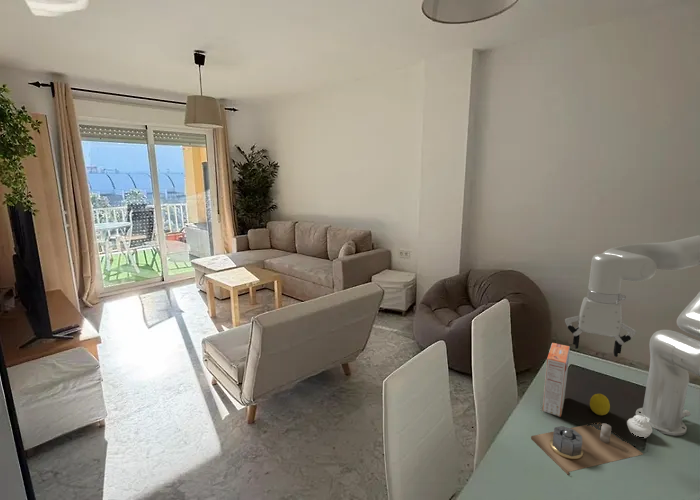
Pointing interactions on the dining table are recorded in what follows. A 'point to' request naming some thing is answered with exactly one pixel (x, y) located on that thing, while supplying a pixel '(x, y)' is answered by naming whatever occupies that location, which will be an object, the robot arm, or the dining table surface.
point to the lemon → (599, 404)
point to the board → (590, 448)
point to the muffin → (639, 426)
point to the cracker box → (556, 379)
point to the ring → (567, 442)
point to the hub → (567, 435)
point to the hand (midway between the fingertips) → (595, 350)
